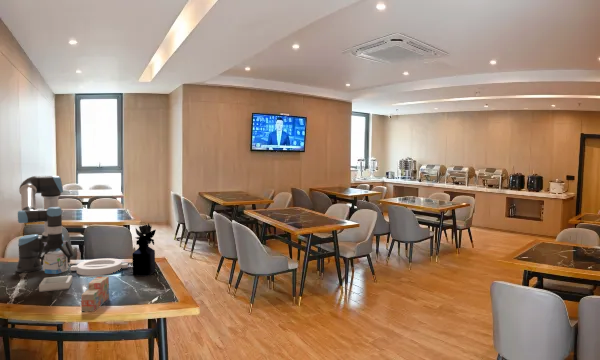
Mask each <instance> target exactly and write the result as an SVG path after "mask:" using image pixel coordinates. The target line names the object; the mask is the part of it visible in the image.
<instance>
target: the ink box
mask: <svg viewBox="0 0 600 360" xmlns="http://www.w3.org/2000/svg"><path fill="white" fill-rule="evenodd" d="M43 255H44V259H45V271H44V274H50V275H51V274H52V275H58V274H61V273H63V272H64V273H65V272H66V271H67V270H68V269H66V257H67V256H66V255H65V254H64V253H63V252H62V251H54V252H48V253H47V254H44V253H43Z"/></svg>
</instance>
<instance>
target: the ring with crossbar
mask: <svg viewBox="0 0 600 360" xmlns="http://www.w3.org/2000/svg"><path fill="white" fill-rule="evenodd" d="M122 262H123V261H122V260H121V259H119V258H112V257H111V258H110V257H109V258H107V257H106V258H94V259H93V258H92V259H89V260H85V261H81V262H79V263H77V264H75V265H71V266H70V271H76V275H80V276H88V277H89V276H91V277H92V276H96V277H97V276H103V275H105V276H106V275H110V274H113V272H114V273H116V271H117V272H119V271H121V270H122V269H127V268H129V263H128V262H126V263H122ZM121 268H122V269H121ZM120 269H121V270H120ZM118 270H119V271H118Z"/></svg>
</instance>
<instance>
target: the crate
mask: <svg viewBox="0 0 600 360" xmlns="http://www.w3.org/2000/svg"><path fill="white" fill-rule="evenodd" d="M72 284H73V275H60V276H59V275H58V276H50V277H48V276H47V277H44V278H42V280H41V282H40V283H39V284H38V286H39V287H38V291H39V293H41V292H49V291H60V290H69V289H70V287H71V285H72Z"/></svg>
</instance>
